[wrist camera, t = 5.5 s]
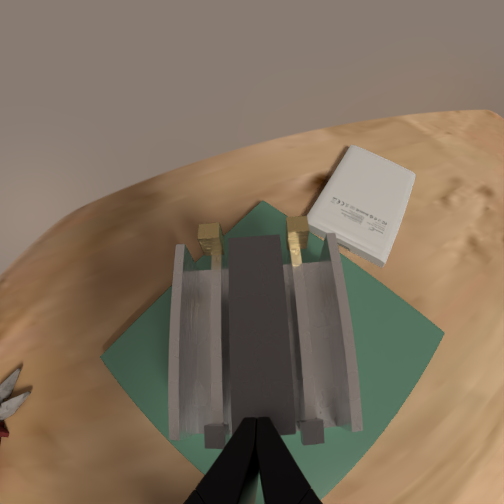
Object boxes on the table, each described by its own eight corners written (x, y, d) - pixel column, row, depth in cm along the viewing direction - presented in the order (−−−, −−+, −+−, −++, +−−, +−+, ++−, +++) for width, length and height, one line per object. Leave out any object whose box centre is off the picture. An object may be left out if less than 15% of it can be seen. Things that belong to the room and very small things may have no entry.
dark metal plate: (295, 432, 12) (296, 434, 11) (234, 435, 12) (232, 437, 12) (279, 241, 18) (279, 234, 17) (230, 245, 18) (228, 238, 17)
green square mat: (439, 335, 20) (444, 332, 19) (282, 527, 14) (282, 532, 13) (263, 206, 27) (263, 200, 27) (106, 359, 21) (99, 357, 20)
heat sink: (353, 422, 17) (392, 431, 10) (183, 431, 17) (138, 443, 11) (334, 269, 23) (355, 213, 16) (185, 279, 23) (152, 228, 17)
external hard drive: (412, 183, 28) (380, 270, 24) (348, 153, 31) (300, 230, 26) (416, 173, 27) (386, 262, 22) (350, 143, 30) (302, 220, 25)
